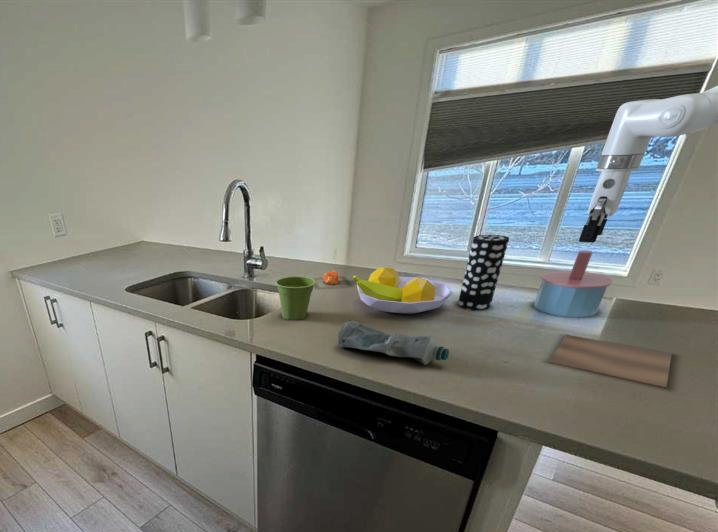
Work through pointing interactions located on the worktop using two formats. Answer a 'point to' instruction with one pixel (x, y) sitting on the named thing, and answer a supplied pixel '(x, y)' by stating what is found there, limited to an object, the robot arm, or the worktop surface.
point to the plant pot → (295, 296)
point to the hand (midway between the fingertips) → (589, 238)
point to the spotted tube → (482, 271)
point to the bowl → (568, 300)
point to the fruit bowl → (401, 292)
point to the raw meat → (331, 278)
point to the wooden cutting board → (614, 360)
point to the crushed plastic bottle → (390, 343)
